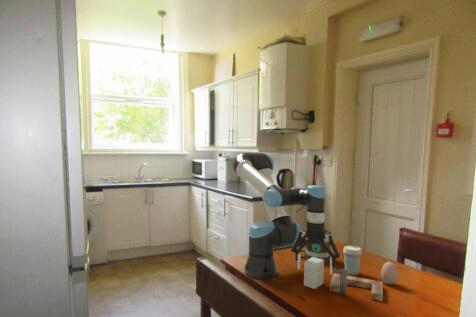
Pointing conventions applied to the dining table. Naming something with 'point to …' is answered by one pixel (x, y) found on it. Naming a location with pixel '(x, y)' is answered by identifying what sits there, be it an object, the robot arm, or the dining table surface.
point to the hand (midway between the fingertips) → (314, 271)
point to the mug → (317, 249)
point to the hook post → (342, 281)
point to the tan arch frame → (358, 285)
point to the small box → (313, 272)
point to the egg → (389, 273)
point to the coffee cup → (352, 259)
